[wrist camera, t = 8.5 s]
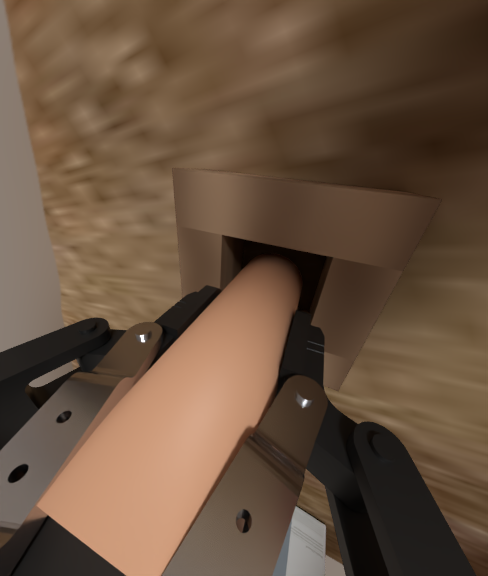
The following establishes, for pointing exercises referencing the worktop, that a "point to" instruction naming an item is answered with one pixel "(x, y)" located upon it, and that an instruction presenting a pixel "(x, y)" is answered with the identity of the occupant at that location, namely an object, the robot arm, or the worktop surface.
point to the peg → (180, 425)
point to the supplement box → (306, 546)
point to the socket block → (303, 244)
